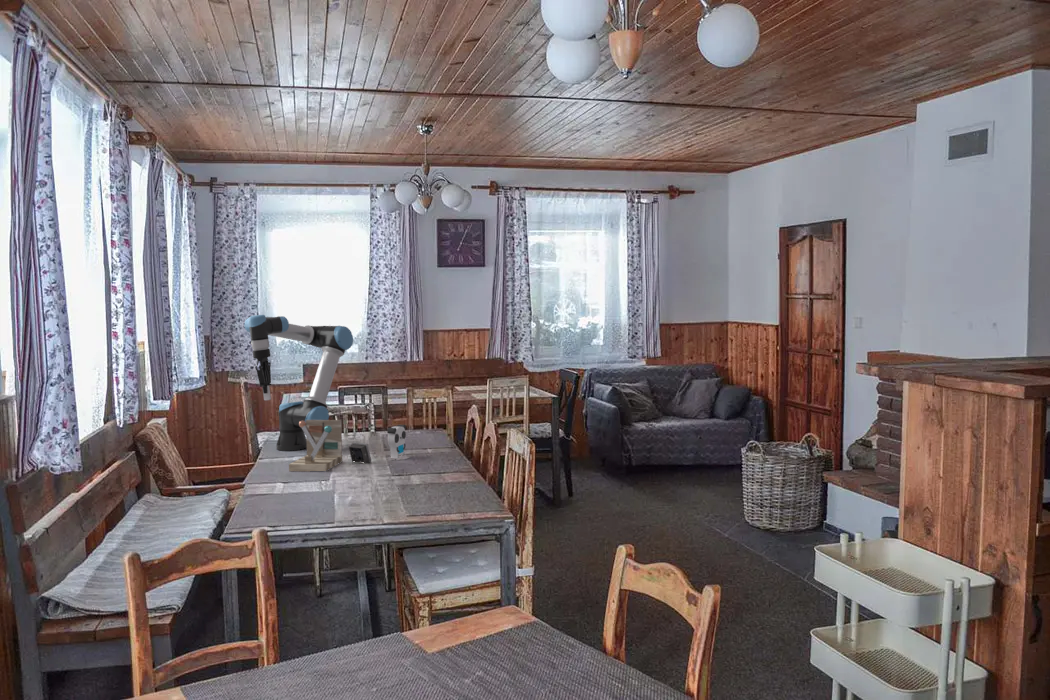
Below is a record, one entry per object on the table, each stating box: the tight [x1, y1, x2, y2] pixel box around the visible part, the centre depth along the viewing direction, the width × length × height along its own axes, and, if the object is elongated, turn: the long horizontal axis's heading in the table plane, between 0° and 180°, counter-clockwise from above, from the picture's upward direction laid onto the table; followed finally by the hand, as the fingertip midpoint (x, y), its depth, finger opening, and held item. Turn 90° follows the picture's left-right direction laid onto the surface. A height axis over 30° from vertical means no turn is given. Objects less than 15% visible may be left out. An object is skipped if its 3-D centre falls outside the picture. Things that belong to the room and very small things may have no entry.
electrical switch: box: [348, 441, 372, 464], centre depth 371 cm, size 9×5×9 cm, turn 57°
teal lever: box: [310, 426, 332, 461], centre depth 355 cm, size 3×3×17 cm
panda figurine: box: [386, 424, 407, 458], centre depth 381 cm, size 12×11×15 cm
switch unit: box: [288, 419, 343, 472], centre depth 363 cm, size 23×16×19 cm
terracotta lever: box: [299, 421, 321, 451], centre depth 370 cm, size 3×3×17 cm
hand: (267, 399), depth 378 cm, fingers closed
